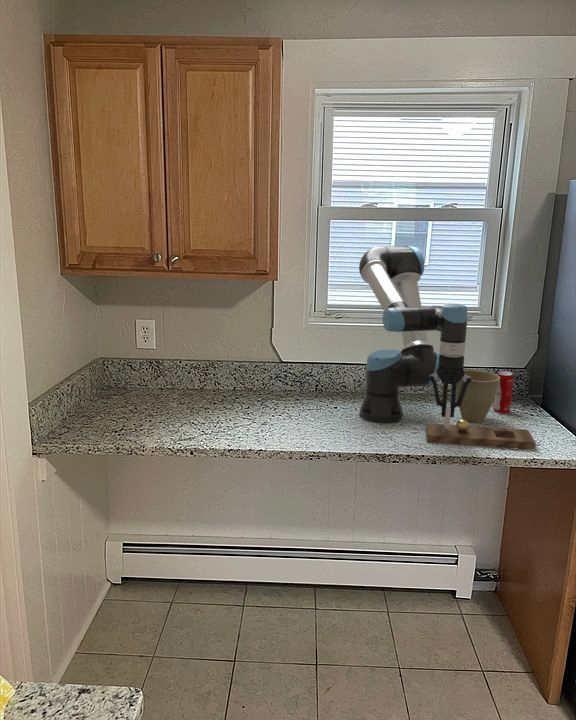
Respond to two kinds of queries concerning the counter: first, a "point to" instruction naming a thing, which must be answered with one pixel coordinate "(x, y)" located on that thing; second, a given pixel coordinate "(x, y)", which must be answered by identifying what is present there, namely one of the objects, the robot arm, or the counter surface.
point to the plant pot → (477, 395)
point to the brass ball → (462, 425)
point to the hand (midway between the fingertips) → (446, 426)
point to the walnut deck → (480, 436)
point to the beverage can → (504, 393)
